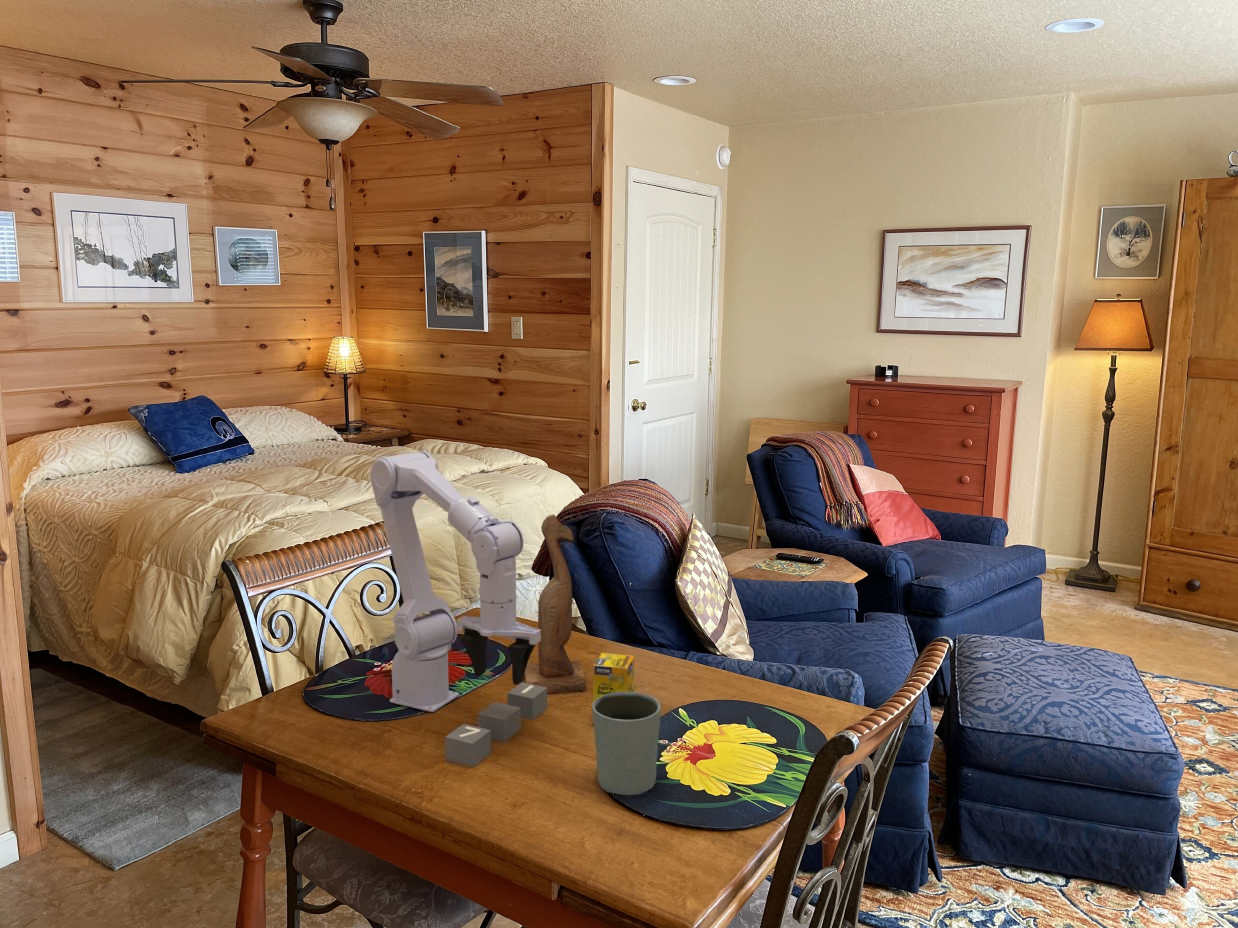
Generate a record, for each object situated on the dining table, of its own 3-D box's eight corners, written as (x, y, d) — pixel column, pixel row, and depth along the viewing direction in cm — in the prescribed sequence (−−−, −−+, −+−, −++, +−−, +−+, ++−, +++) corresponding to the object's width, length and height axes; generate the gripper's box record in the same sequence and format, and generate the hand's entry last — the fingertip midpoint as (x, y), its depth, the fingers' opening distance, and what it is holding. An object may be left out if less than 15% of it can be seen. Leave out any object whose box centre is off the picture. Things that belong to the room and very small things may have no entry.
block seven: (445, 760, 141) (445, 735, 141) (464, 747, 146) (463, 722, 145) (473, 768, 139) (472, 742, 139) (491, 753, 144) (490, 728, 143)
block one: (507, 714, 157) (507, 691, 157) (522, 703, 162) (522, 681, 161) (532, 720, 155) (532, 697, 155) (547, 709, 160) (547, 686, 159)
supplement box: (627, 730, 152) (628, 668, 150) (592, 727, 153) (592, 665, 151) (634, 715, 157) (634, 654, 156) (599, 711, 159) (600, 651, 157)
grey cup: (637, 806, 129) (638, 726, 127) (577, 785, 134) (578, 708, 132) (671, 775, 137) (673, 700, 135) (614, 757, 143) (615, 684, 141)
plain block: (478, 736, 149) (477, 713, 149) (494, 724, 154) (494, 701, 153) (504, 742, 147) (504, 719, 147) (520, 730, 152) (520, 707, 151)
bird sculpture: (590, 693, 167) (596, 521, 162) (526, 696, 164) (530, 522, 159) (578, 670, 178) (584, 508, 173) (518, 673, 175) (522, 509, 170)
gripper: (445, 598, 146) (447, 679, 148) (524, 612, 140) (525, 695, 142) (470, 586, 152) (472, 664, 155) (547, 599, 146) (547, 679, 149)
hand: (499, 678), depth 149 cm, fingers open, 7 cm apart
